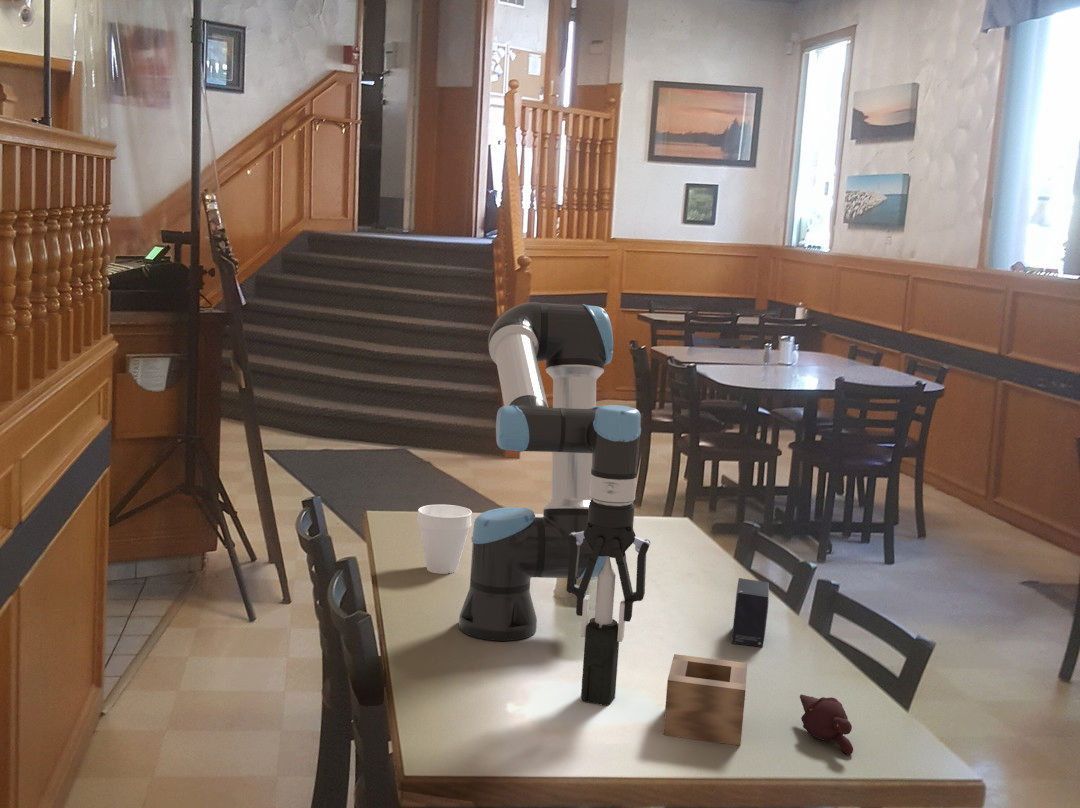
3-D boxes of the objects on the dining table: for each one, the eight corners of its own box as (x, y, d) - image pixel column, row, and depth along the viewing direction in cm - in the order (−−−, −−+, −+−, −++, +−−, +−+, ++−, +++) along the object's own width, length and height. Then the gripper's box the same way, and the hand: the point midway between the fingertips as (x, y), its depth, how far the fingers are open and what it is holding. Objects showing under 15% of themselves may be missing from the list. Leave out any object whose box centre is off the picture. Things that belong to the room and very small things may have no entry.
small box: (764, 648, 227) (769, 596, 225) (730, 644, 228) (735, 592, 227) (765, 631, 237) (770, 580, 236) (732, 627, 238) (737, 577, 237)
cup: (479, 569, 268) (483, 510, 266) (447, 581, 257) (450, 520, 255) (437, 558, 274) (439, 501, 272) (403, 569, 264) (406, 510, 262)
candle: (616, 695, 199) (627, 552, 195) (608, 706, 194) (619, 559, 190) (587, 690, 200) (597, 548, 197) (578, 701, 196) (589, 555, 192)
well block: (663, 734, 184) (667, 680, 183) (669, 705, 196) (674, 654, 195) (740, 745, 182) (745, 690, 181) (742, 715, 194) (747, 663, 192)
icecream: (778, 683, 192) (826, 729, 178) (818, 670, 193) (869, 715, 180) (782, 720, 194) (830, 768, 180) (822, 707, 195) (872, 753, 182)
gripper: (552, 499, 190) (543, 637, 194) (666, 511, 187) (655, 651, 190) (560, 490, 198) (552, 623, 201) (670, 501, 194) (659, 636, 198)
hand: (602, 636), depth 196 cm, fingers closed on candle, 5 cm apart
